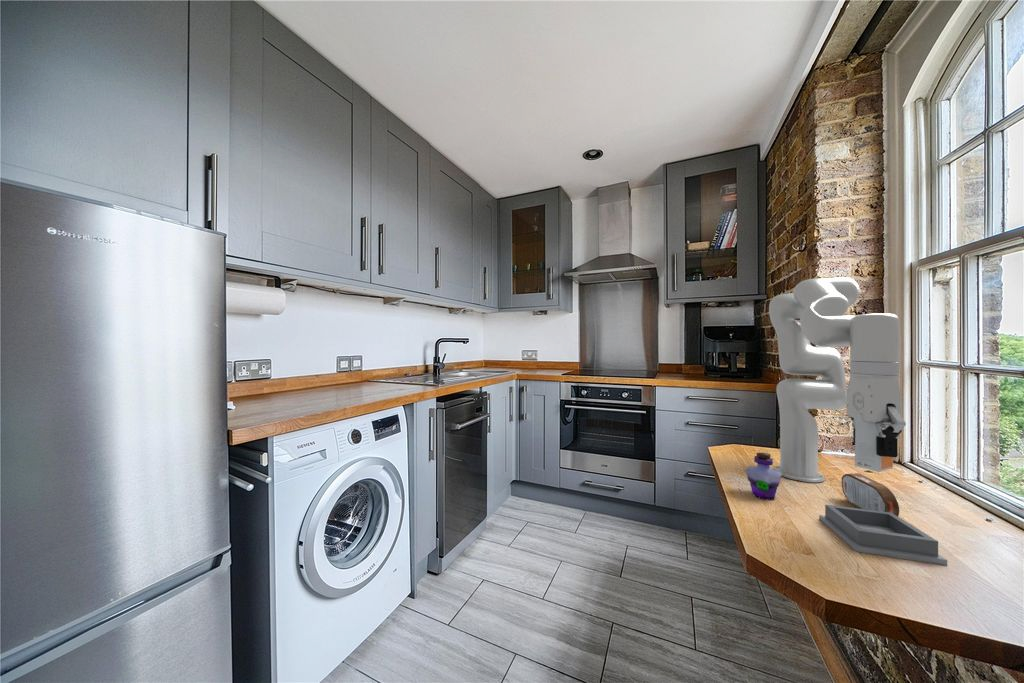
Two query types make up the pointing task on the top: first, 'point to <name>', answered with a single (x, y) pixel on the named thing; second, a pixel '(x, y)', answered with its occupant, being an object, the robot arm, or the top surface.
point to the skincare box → (869, 446)
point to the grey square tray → (881, 534)
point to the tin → (868, 494)
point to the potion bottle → (763, 477)
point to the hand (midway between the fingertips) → (874, 450)
